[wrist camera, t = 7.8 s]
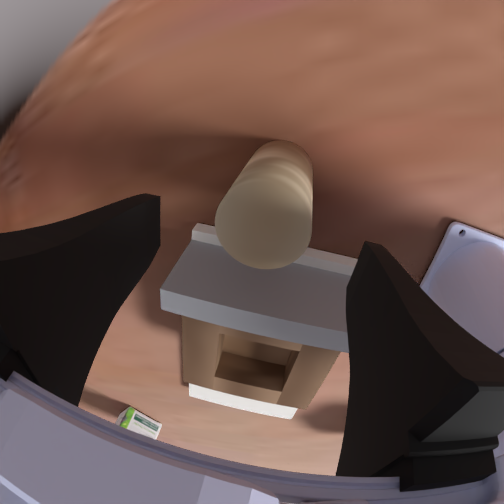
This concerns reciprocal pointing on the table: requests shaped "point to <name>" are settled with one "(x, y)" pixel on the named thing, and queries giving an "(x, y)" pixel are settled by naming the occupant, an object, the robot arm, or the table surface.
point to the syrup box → (138, 423)
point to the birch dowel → (269, 208)
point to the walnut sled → (253, 364)
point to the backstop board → (260, 302)
